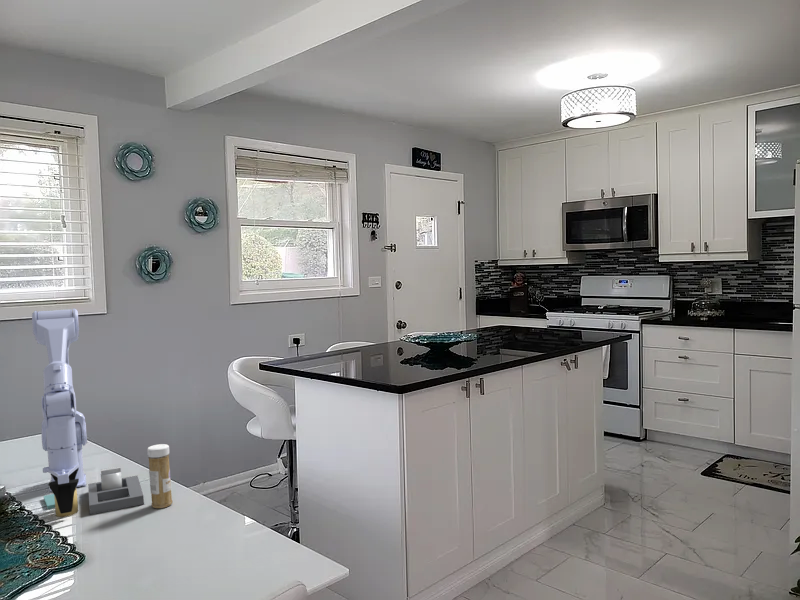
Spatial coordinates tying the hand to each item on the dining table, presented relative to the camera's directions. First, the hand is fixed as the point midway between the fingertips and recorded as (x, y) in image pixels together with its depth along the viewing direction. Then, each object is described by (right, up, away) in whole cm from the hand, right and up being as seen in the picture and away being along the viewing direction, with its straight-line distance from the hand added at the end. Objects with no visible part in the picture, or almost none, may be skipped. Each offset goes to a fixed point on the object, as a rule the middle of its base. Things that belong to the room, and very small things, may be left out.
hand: (66, 506), depth 141 cm
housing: (+7, -1, +8) cm, 11 cm away
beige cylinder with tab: (0, -2, 0) cm, 2 cm away
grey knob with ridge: (+5, -1, +11) cm, 12 cm away
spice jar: (+20, -1, +2) cm, 20 cm away
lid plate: (-6, -1, +7) cm, 9 cm away
